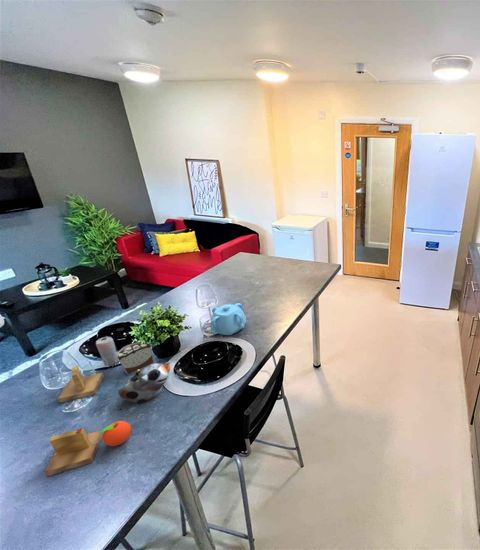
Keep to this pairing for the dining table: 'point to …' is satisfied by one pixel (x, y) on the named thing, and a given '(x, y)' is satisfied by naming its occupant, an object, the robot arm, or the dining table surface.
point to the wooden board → (75, 456)
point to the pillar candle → (107, 351)
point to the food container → (135, 357)
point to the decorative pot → (228, 319)
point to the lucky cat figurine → (145, 383)
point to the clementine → (116, 433)
